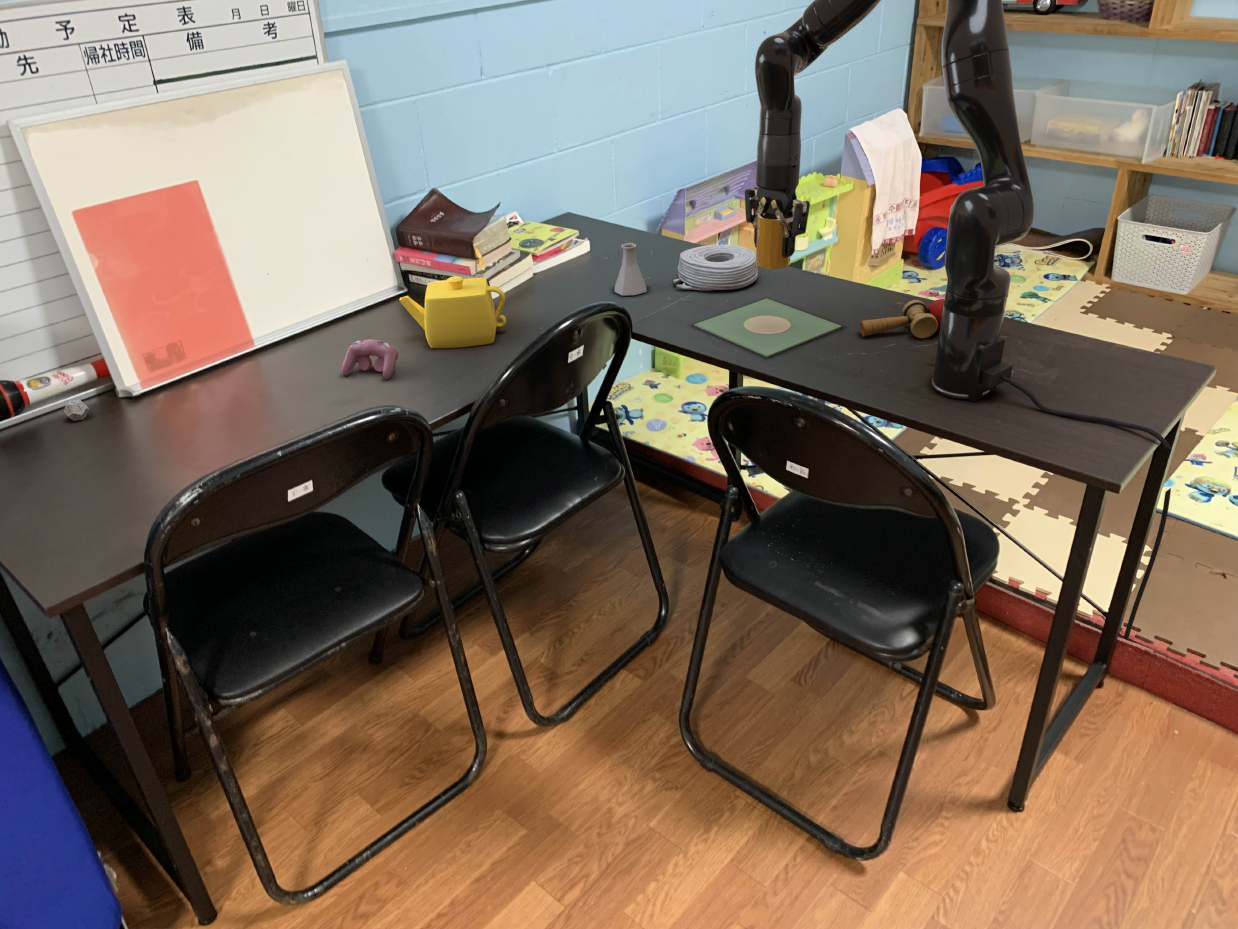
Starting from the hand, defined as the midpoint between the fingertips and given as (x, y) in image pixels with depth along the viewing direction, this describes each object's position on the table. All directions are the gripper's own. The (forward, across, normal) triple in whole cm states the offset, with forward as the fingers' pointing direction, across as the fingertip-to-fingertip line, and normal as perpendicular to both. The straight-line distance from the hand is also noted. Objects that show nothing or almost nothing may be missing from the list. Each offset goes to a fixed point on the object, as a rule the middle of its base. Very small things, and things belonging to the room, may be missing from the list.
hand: (773, 251), depth 169 cm
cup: (+2, 0, 0) cm, 2 cm away
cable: (+16, -28, +12) cm, 34 cm away
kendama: (+16, +18, +18) cm, 30 cm away
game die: (+16, -54, -112) cm, 125 cm away
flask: (+16, -36, -6) cm, 40 cm away
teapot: (+16, -40, -46) cm, 63 cm away
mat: (+16, -2, +1) cm, 16 cm away
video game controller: (+16, -36, -66) cm, 77 cm away
